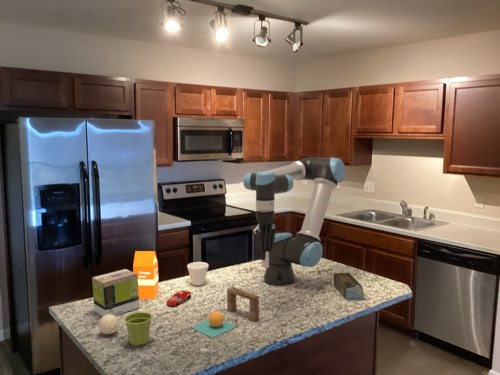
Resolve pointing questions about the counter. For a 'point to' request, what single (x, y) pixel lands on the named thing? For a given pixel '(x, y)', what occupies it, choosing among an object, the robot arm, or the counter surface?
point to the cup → (197, 272)
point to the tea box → (115, 292)
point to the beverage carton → (348, 286)
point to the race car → (179, 298)
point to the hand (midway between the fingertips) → (265, 266)
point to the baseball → (108, 324)
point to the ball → (216, 319)
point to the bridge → (252, 297)
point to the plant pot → (138, 327)
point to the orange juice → (146, 273)
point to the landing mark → (213, 328)
